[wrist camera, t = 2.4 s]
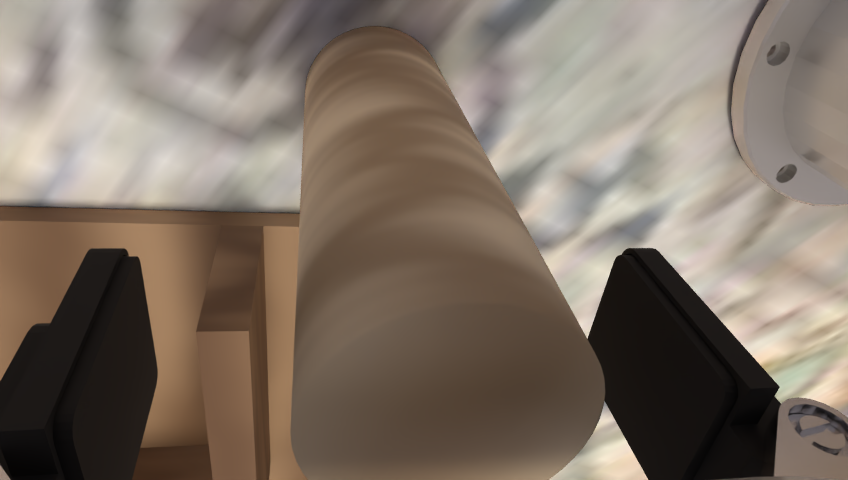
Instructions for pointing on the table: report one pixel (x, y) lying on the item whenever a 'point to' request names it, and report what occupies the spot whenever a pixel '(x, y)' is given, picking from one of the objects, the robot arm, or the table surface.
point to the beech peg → (422, 290)
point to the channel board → (181, 325)
